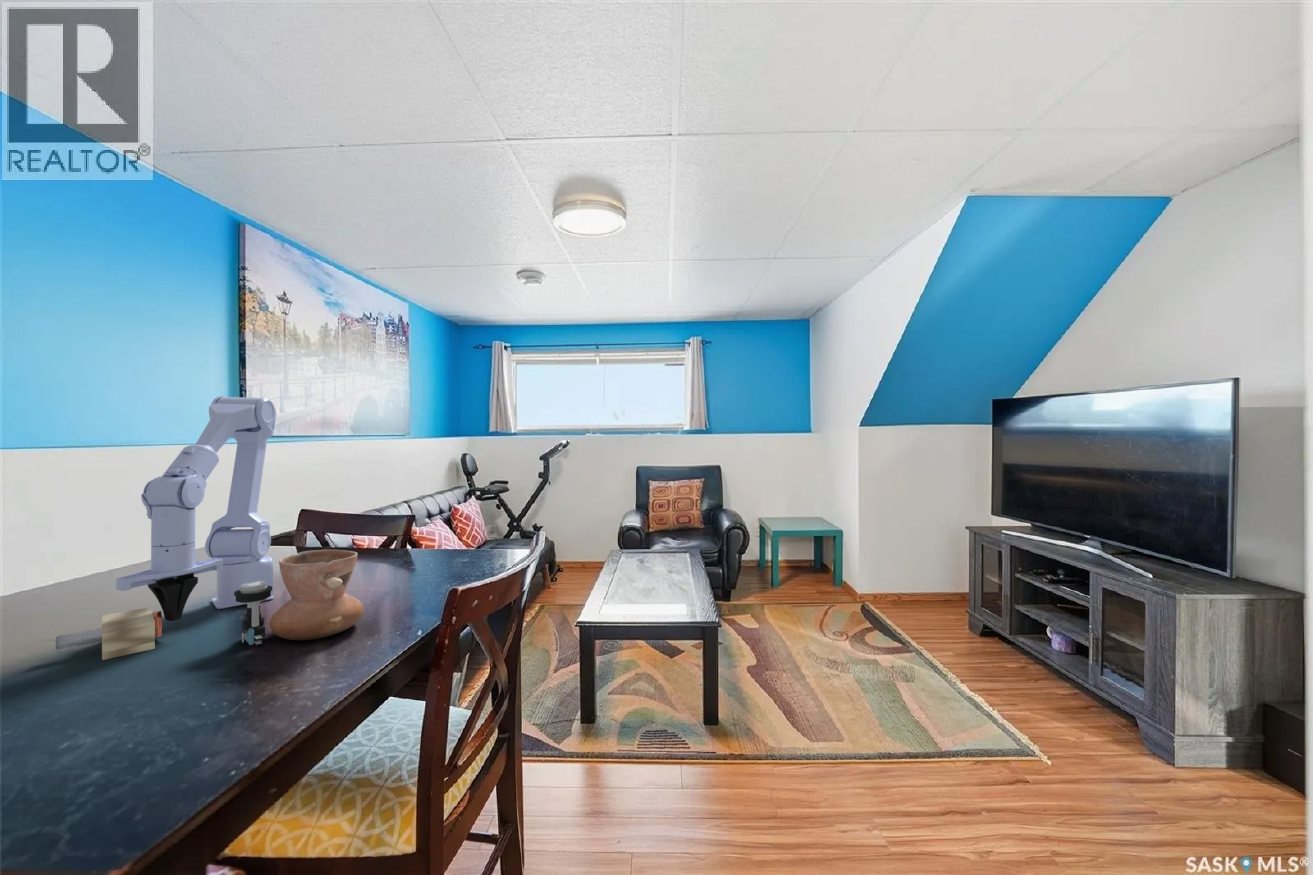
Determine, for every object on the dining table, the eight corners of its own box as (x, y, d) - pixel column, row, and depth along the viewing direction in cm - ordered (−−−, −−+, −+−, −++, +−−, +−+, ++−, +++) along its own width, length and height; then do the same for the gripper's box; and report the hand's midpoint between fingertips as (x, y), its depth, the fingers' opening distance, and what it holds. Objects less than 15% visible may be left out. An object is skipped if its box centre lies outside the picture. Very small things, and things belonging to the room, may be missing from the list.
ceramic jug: (378, 632, 94) (380, 555, 95) (285, 657, 83) (286, 570, 83) (342, 611, 106) (343, 542, 106) (255, 630, 95) (257, 554, 95)
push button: (277, 642, 89) (278, 585, 89) (238, 652, 85) (239, 592, 85) (267, 632, 94) (268, 578, 94) (230, 640, 90) (231, 584, 89)
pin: (159, 632, 92) (159, 607, 91) (161, 639, 89) (162, 614, 89) (56, 652, 83) (56, 625, 83) (55, 661, 80) (55, 633, 80)
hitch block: (150, 632, 93) (150, 607, 93) (154, 648, 86) (154, 621, 86) (101, 642, 88) (101, 615, 88) (102, 660, 81) (102, 631, 81)
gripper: (206, 534, 99) (205, 603, 99) (105, 550, 86) (105, 630, 86) (230, 537, 97) (229, 608, 97) (130, 554, 83) (130, 636, 83)
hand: (173, 619), depth 91 cm, fingers closed
